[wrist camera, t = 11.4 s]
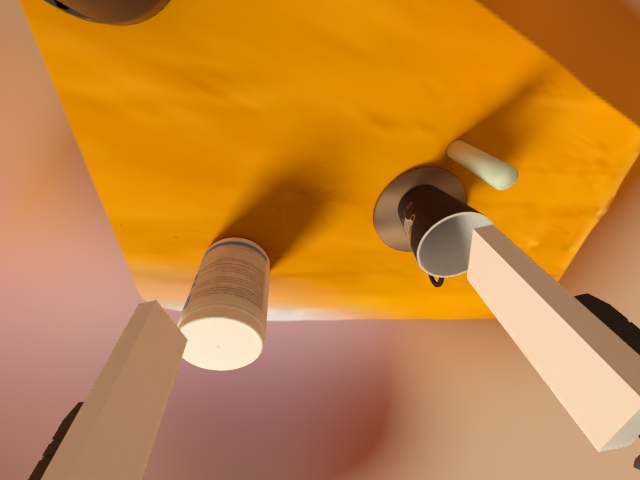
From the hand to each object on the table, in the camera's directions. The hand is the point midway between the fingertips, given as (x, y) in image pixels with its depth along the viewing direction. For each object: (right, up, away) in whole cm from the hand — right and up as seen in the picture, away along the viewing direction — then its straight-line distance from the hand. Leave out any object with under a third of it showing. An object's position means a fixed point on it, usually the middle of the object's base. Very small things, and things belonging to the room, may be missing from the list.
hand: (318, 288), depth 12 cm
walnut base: (+14, +6, +29) cm, 33 cm away
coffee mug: (+13, +6, +28) cm, 32 cm away
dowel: (+17, +14, +24) cm, 33 cm away
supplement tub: (-12, -1, +31) cm, 33 cm away
